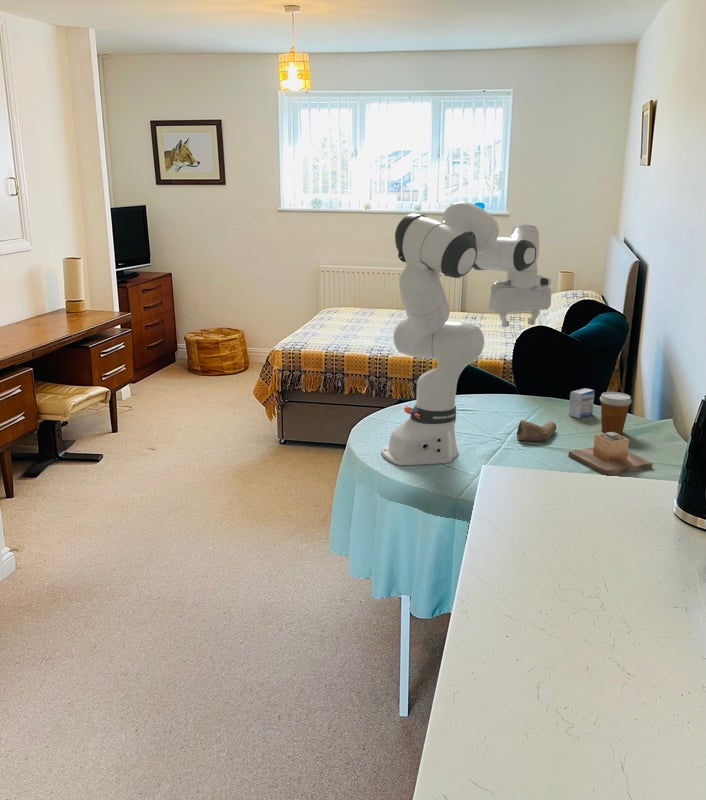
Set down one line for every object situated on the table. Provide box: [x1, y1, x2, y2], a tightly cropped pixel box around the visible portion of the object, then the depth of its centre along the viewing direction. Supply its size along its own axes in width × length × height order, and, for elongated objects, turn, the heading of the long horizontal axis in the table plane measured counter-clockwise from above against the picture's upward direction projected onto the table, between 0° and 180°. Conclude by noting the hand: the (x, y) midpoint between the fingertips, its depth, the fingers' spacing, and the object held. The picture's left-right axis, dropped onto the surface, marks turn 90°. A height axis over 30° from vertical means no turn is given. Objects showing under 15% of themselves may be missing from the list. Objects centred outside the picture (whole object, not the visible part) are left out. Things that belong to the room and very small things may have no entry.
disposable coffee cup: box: [599, 391, 632, 435], centre depth 234 cm, size 10×10×12 cm
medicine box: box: [568, 387, 595, 419], centre depth 251 cm, size 8×4×9 cm, turn 129°
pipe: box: [516, 419, 557, 442], centre depth 230 cm, size 6×17×10 cm
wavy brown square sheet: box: [567, 432, 653, 476], centre depth 209 cm, size 16×16×8 cm
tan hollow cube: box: [593, 432, 630, 462], centre depth 209 cm, size 6×6×6 cm
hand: (518, 325), depth 225 cm, fingers open, 8 cm apart
